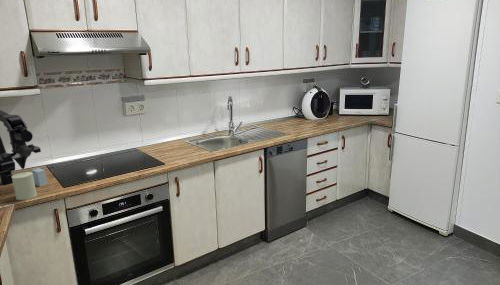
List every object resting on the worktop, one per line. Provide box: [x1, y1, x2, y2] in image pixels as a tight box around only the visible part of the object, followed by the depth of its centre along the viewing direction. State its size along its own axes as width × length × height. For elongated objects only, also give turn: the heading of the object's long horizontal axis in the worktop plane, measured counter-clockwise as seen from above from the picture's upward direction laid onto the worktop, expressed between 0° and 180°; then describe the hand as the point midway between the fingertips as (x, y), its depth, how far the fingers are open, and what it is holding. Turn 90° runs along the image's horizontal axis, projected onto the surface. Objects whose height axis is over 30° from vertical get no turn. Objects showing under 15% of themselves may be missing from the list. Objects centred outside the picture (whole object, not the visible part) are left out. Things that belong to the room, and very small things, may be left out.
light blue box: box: [30, 167, 48, 187], centre depth 198 cm, size 7×4×8 cm, turn 57°
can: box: [12, 171, 38, 201], centre depth 181 cm, size 9×9×12 cm
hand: (23, 168), depth 191 cm, fingers closed
